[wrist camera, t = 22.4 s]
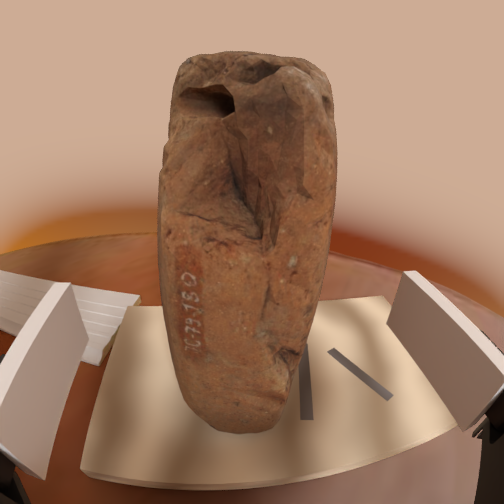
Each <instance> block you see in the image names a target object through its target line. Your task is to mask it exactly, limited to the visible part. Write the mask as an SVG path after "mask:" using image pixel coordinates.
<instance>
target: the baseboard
mask: <svg viewBox="0 0 504 504" xmlns="http://www.w3.org/2000/svg"><path fill="white" fill-rule="evenodd" d="M54 283H55V281H49V280H44V279H39V278H34V277H29V276H24V275H20V274H15V273H11V272H6V271H2V270H0V330H2V331H4V332H6V333H8V334H11V335H13V336H15V337H17V336H18V334H19V332H20V331H21V329H22V328H23V326H24V325H25V323H26V322H27V320H28V319H29V317H30V316H31V314H32V313H33V312H34V310H35V309H36V307H37V306H38V304H39V303H40V302H41V300H42V299H43V298H44V296H45V295H46V293H47V292H48V291H49V289H50V288H51V287H52V286H53V284H54ZM57 283H60V282H57ZM72 289H73V292H74V296H75V299H76V302H77V305H78V308H79V312H80V315H81V318H82V321H83V323H84V326H85V329H86V332H87V335H88V337H89V341H88V344H87V346H86V348H85V351H84V353H83V356H82V358H81V361H83V362H86V363H90V364H93V365H96V366H100V365H101V363H102V362H103V360H104V358H105V357H106V355H107V354H108V352H109V350H110V349H111V347H112V346H113V344H114V342H115V339H116V336H117V333H118V331H119V328H120V325H121V322H122V320H123V317H124V314H125V312H126V309H127V306H139V304H140V303H141V298H140V295H134V294H127V293H120V292H113V291H107V290H101V289H94V288H88V287H82V286H77V285H72Z"/></svg>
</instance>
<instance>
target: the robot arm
mask: <svg viewBox="0 0 504 504" xmlns="http://www.w3.org/2000/svg"><path fill="white" fill-rule="evenodd" d="M386 324H387V325H388V327H389V328H390V329H391V331H392V332H393V333H394V335H395V336H396V337H397V338H398V340H399V341H400V342H401V344H402V345H403V346H404V348H405V349H406V350H407V352H408V353H409V355H410V356H411V357H412V359H413V360H414V361H415V363H416V364H417V365H418V367H419V368H420V370H421V371H422V372H423V374H424V375H425V377H426V378H427V379H428V381H429V382H430V384H431V385H432V387H433V388H434V389H435V391H436V392H437V394H438V395H439V397H440V398H441V400H442V401H443V403H444V404H445V406H446V407H447V409H448V410H449V412H450V413H451V415H452V416H453V418H454V419H455V421H456V422H457V424H458V425H459V427H460V428H461V430H462V432H464V431H465V430H467V429H469V428H470V427H472V426H473V425H475V424H476V423H477V422H478V421H479V420H480V418H481V417H482V416H483V415H484V414H485V415H486V416H487V417H486V419H485V420H484V421H483V422H482V423H481V424H480V425H479V426H478V427H477V428H476V429H475V431H474V432H473V434H472V437H473V438H474V437H475V436H476V435H477V434H478V433H479V432H480V431H481V430H482V429H483V431H482V432H481V433H480V434H479V435H478V437H477V438H479V439H482V450H481V461H480V470H479V478H478V485H477V491H476V496H475V501H474V504H504V354H503V352H502V351H501V350H500V349H499V348H496V345H495V344H494V343H493V342H492V341H490V339H489V338H488V337H487V336H486V334H485V333H484V332H483V331H481V330H480V329H478V328H477V327H476V326H475V325H474V324H473V323H472V322H471V321H470V320H469V319H468V318H467V317H466V316H465V315H464V314H463V313H462V312H461V311H460V310H459V309H458V308H457V307H456V306H455V305H453V304H452V303H451V302H450V301H449V300H448V299H447V298H446V297H445V296H444V295H443V294H442V293H441V292H439V291H438V290H437V289H436V288H435V287H434V286H433V285H432V284H431V283H429V282H428V281H427V280H426V279H425V278H424V277H422V276H421V275H420V274H419V273H418V272H417V271H405V272H403V273H402V277H401V280H400V283H399V287H398V290H397V293H396V296H395V299H394V302H393V305H392V308H391V311H390V314H389V317H388V320H387V322H386ZM88 341H89V337H88V335H87V332H86V329H85V326H84V323H83V321H82V318H81V315H80V312H79V308H78V305H77V302H76V299H75V296H74V292H73V289H72V285H71V283H57V282H55V283H54V284H53V286H52V287H51V288H50V289H49V291H48V292H47V293H46V295H45V296H44V298H43V299H42V300H41V302H40V303H39V304H38V306H37V307H36V309H35V310H34V312H33V313H32V314H31V316H30V317H29V319H28V320H27V322H26V323H25V325H24V326H23V328H22V329H21V331H20V332H19V334H18V336H17V337H16V339H15V340H14V342H13V344H12V345H11V347H10V348H9V350H8V352H7V354H6V355H5V354H2V355H1V356H0V504H31V503H30V501H29V498H28V496H27V494H26V492H25V490H24V488H23V485H22V483H21V481H20V478H19V477H18V475H17V473H16V472H15V471H14V469H15V465H16V466H17V467H18V468H20V469H21V470H22V471H23V472H25V473H26V474H28V475H31V476H33V477H36V478H39V479H42V480H44V481H45V478H46V473H47V469H48V464H49V460H50V456H51V451H52V448H53V444H54V440H55V436H56V433H57V429H58V426H59V422H60V419H61V416H62V412H63V409H64V406H65V403H66V400H67V397H68V394H69V391H70V388H71V385H72V382H73V380H74V377H75V374H76V372H77V369H78V366H79V364H80V361H81V358H82V356H83V353H84V351H85V348H86V346H87V344H88Z"/></svg>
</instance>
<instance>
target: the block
mask: <svg viewBox="0 0 504 504" xmlns="http://www.w3.org/2000/svg"><path fill="white" fill-rule="evenodd" d="M168 136H169V140H168V142H167V143H166V145H165V146H164V151H163V168H162V169H161V171H160V173H159V193H158V232H157V236H158V267H159V278H160V292H161V301H162V308H163V316H164V321H165V326H166V331H167V336H168V343H169V349H170V353H171V358H172V363H173V366H174V370H175V375H176V378H177V381H178V384H179V388H180V391H181V393H182V396H183V399H184V401H185V402H186V403H187V405H188V406H189V408H190V409H191V410H192V411H193V412H194V413H195V414H196V415H197V416H199V417H200V418H201V419H202V420H204V421H205V422H206V423H208V424H209V426H211V427H212V428H214V429H216V430H217V431H221V432H227V433H233V434H246V433H260V432H264V431H267V430H270V429H272V428H273V427H274V426H275V425H276V424H277V422H278V421H279V420H280V418H281V416H282V414H283V412H284V409H285V406H286V403H287V400H288V396H289V392H290V389H291V385H292V380H293V379H294V376H295V373H296V370H297V368H298V365H299V363H300V361H301V358H302V355H303V352H304V349H305V346H306V343H307V340H308V336H309V333H310V330H311V326H312V323H313V320H314V316H315V313H316V309H317V305H318V301H319V297H320V294H321V290H322V284H323V279H324V275H325V270H326V265H327V259H328V253H329V246H330V238H331V230H332V222H333V216H334V207H335V196H336V182H337V139H336V128H335V122H334V104H333V97H332V90H331V85H330V83H329V80H328V78H327V76H326V74H325V73H324V72H323V71H321V70H320V69H319V68H318V67H316V66H315V65H314V64H312V63H311V62H309V61H307V60H305V59H302V58H295V57H280V56H276V55H271V54H259V53H255V52H245V51H243V52H242V51H226V52H220V53H215V54H199V55H196V56H193V57H190V58H188V59H187V60H186V61H185V62H184V63H182V65H181V66H180V67H179V70H178V72H177V76H176V79H175V83H174V86H173V92H172V100H171V108H170V122H169V133H168Z"/></svg>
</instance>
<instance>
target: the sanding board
mask: <svg viewBox="0 0 504 504" xmlns="http://www.w3.org/2000/svg"><path fill="white" fill-rule="evenodd" d="M391 308H392V306H391V305H390V304H389V303H388V301H387V300H386V299H385V298H384V297H383V296H374V297H363V298H352V299H340V300H328V301H318V305H317V309H316V313H315V316H314V320H313V323H312V326H311V330H310V333H309V336H308V340H307V343H306V346H305V349H304V352H303V355H302V358H301V361H300V363H299V365H298V368H297V370H296V373H295V376H294V379H293V380H292V385H291V389H290V392H289V396H288V400H287V403H286V406H285V409H284V412H283V414H282V416H281V418H280V420H279V421H278V422H277V424H276V425H275V426H274V427H273V428H272V429H270V430H267V431H264V432H260V433H246V434H233V433H227V432H221V431H217V430H216V429H214V428H212V427H211V426H209V424H208V423H206V422H205V421H204V420H202V419H201V418H200V417H199V416H197V415H196V414H195V413H194V412H193V411H192V410H191V409H190V408H189V406H188V405H187V403H186V402H185V401H184V399H183V396H182V393H181V391H180V388H179V384H178V381H177V378H176V375H175V370H174V366H173V363H172V358H171V353H170V349H169V343H168V336H167V331H166V326H165V321H164V316H163V308H162V306H127V309H126V312H125V314H124V317H123V320H122V322H121V325H120V328H119V331H118V333H117V336H116V339H115V342H114V345H113V348H112V351H111V353H110V356H109V359H108V363H107V366H106V369H105V372H104V375H103V378H102V382H101V385H100V388H99V392H98V395H97V399H96V402H95V406H94V409H93V413H92V417H91V421H90V425H89V429H88V433H87V437H86V442H85V446H84V450H83V455H82V460H81V465H80V469H81V470H82V471H83V472H84V473H85V474H86V475H87V476H88V477H91V478H96V479H100V480H105V481H110V482H116V483H121V484H128V485H135V486H142V487H151V488H162V489H176V490H233V489H248V488H259V487H268V486H276V485H283V484H289V483H295V482H301V481H306V480H311V479H316V478H320V477H325V476H329V475H333V474H337V473H341V472H344V471H348V470H352V469H355V468H358V467H362V466H365V465H368V464H371V463H374V462H377V461H380V460H383V459H385V458H388V457H391V456H393V455H396V454H399V453H401V452H404V451H406V450H408V449H411V448H413V447H416V446H418V445H420V444H422V443H424V442H427V441H429V440H431V439H433V438H435V437H437V436H439V435H441V434H443V433H445V432H447V431H449V430H451V429H453V428H454V427H456V426H458V424H457V422H456V421H455V419H454V418H453V416H452V415H451V413H450V412H449V410H448V409H447V407H446V406H445V404H444V403H443V401H442V400H441V398H440V397H439V395H438V394H437V392H436V391H435V389H434V388H433V387H432V385H431V384H430V382H429V381H428V379H427V378H426V377H425V375H424V374H423V372H422V371H421V370H420V368H419V367H418V365H417V364H416V363H415V361H414V360H413V359H412V357H411V356H410V355H409V353H408V352H407V350H406V349H405V348H404V346H403V345H402V344H401V342H400V341H399V340H398V338H397V337H396V336H395V335H394V333H393V332H392V331H391V329H390V328H389V327H388V325H387V324H386V322H387V320H388V317H389V314H390V311H391Z"/></svg>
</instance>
